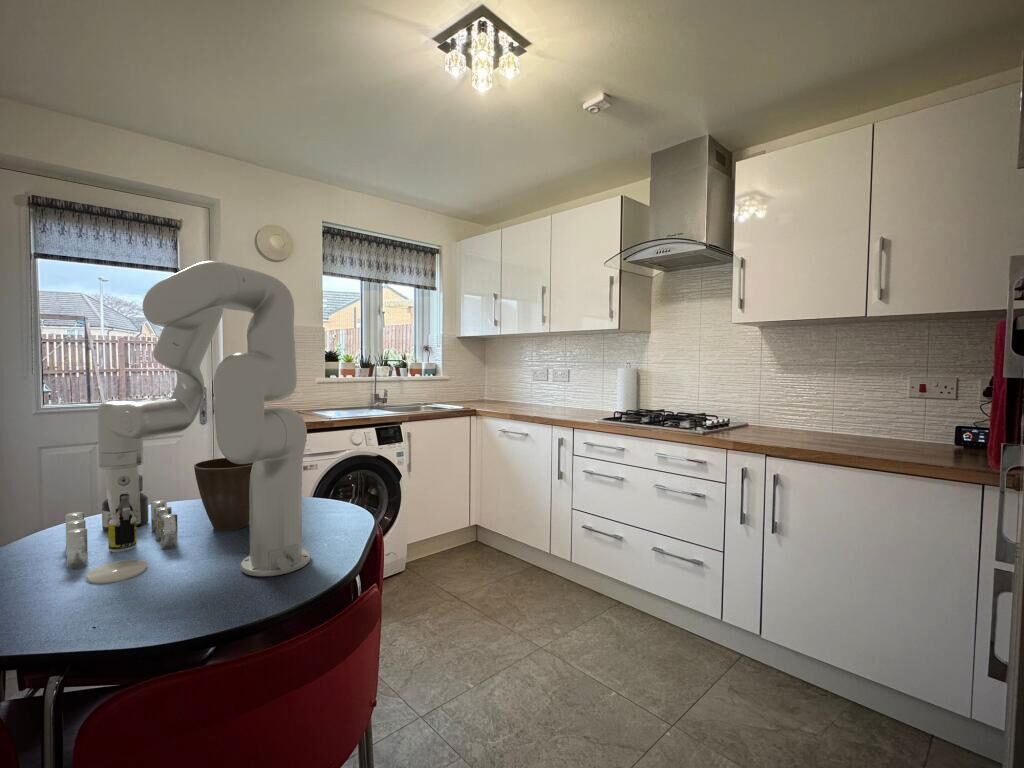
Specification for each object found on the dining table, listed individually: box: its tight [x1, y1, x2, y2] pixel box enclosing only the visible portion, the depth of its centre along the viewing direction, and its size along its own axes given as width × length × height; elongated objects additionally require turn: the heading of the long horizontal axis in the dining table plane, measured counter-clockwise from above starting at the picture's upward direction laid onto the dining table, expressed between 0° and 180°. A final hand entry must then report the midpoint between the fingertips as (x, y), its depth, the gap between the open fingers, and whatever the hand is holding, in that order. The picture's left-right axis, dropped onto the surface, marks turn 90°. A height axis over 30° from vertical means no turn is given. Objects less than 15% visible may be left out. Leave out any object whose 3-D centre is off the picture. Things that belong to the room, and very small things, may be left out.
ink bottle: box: [101, 474, 149, 532], centre depth 121 cm, size 10×9×12 cm
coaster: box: [86, 559, 148, 585], centre depth 95 cm, size 9×9×1 cm
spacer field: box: [65, 499, 179, 570], centre depth 108 cm, size 17×18×7 cm
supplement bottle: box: [107, 508, 137, 553], centre depth 107 cm, size 5×5×8 cm
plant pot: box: [193, 457, 254, 532], centre depth 122 cm, size 15×15×16 cm
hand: (122, 537), depth 107 cm, fingers open, 9 cm apart
